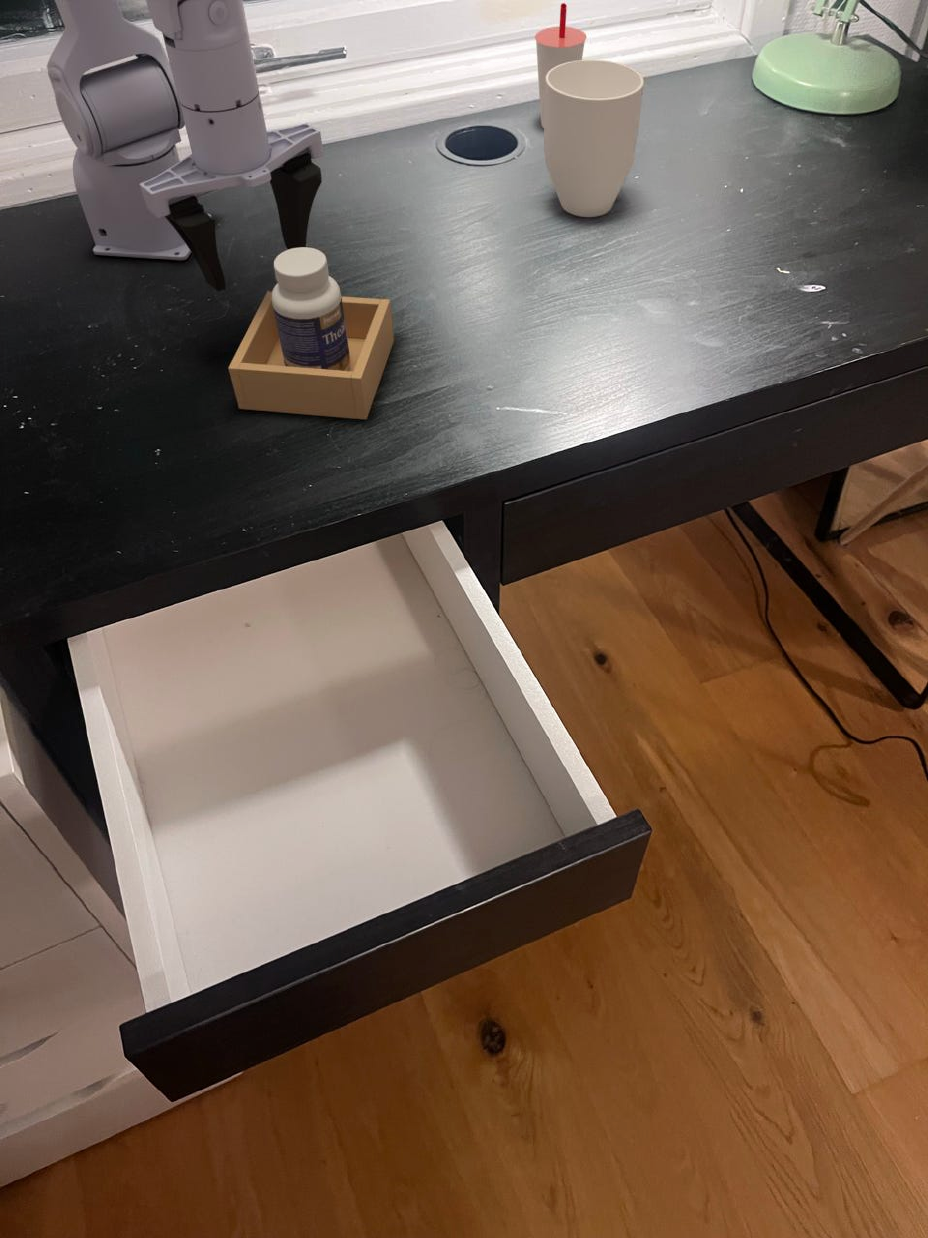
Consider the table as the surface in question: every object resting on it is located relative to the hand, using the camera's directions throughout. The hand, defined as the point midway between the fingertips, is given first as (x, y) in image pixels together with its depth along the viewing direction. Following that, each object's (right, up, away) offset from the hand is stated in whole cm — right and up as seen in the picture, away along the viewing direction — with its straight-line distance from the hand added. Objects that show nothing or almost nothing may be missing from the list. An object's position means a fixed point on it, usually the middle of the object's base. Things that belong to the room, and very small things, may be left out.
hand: (256, 267), depth 79 cm
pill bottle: (+5, -8, +1) cm, 10 cm away
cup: (+27, +26, +28) cm, 47 cm away
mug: (+29, +13, +18) cm, 36 cm away
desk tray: (+5, -9, +1) cm, 10 cm away
